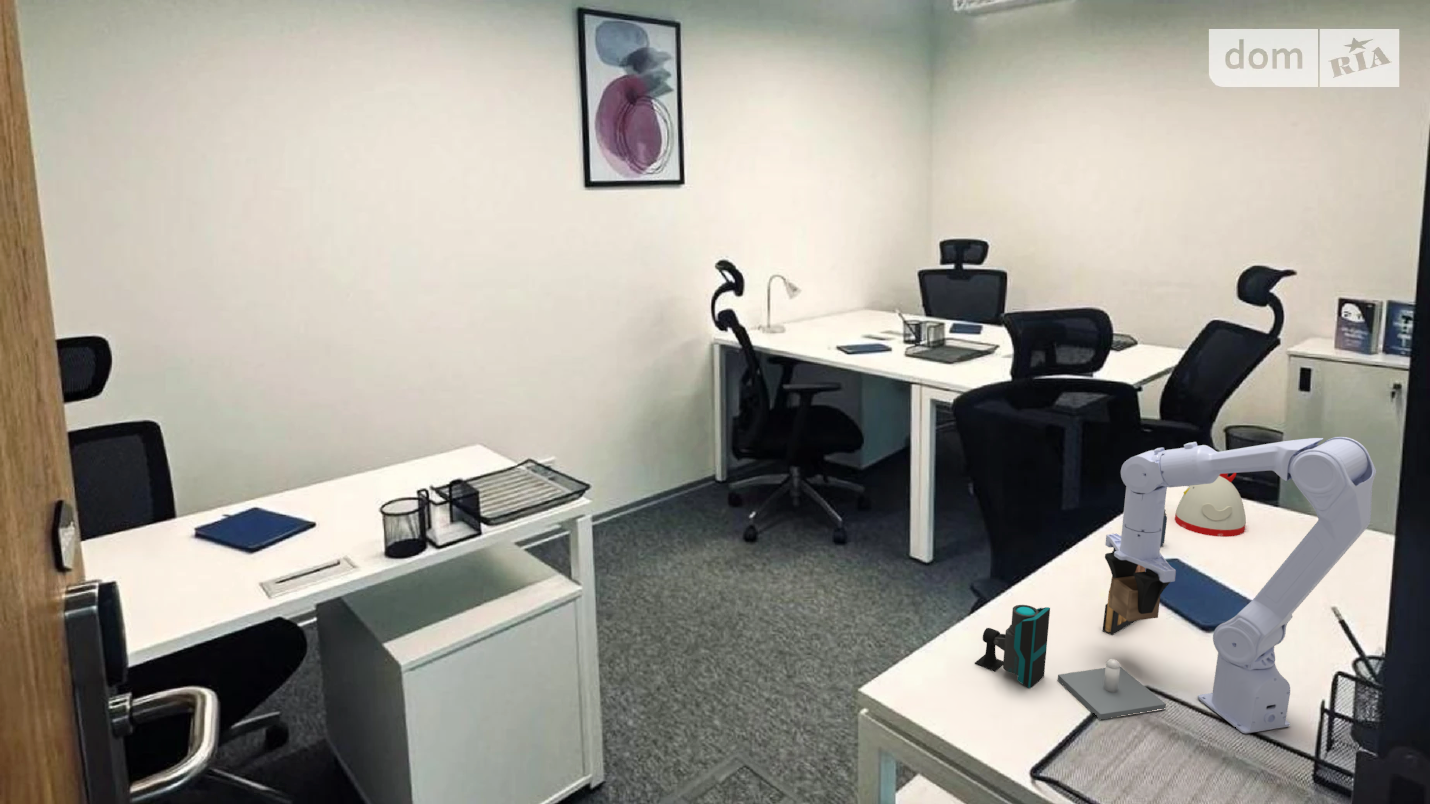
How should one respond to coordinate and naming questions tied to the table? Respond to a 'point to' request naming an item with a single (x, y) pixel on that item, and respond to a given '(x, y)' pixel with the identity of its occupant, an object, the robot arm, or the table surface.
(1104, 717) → the gray peg stand
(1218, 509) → the kitchen timer
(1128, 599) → the walnut frame
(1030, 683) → the surveillance camera
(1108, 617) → the ammunition clip
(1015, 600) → the table surface
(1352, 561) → the table surface
